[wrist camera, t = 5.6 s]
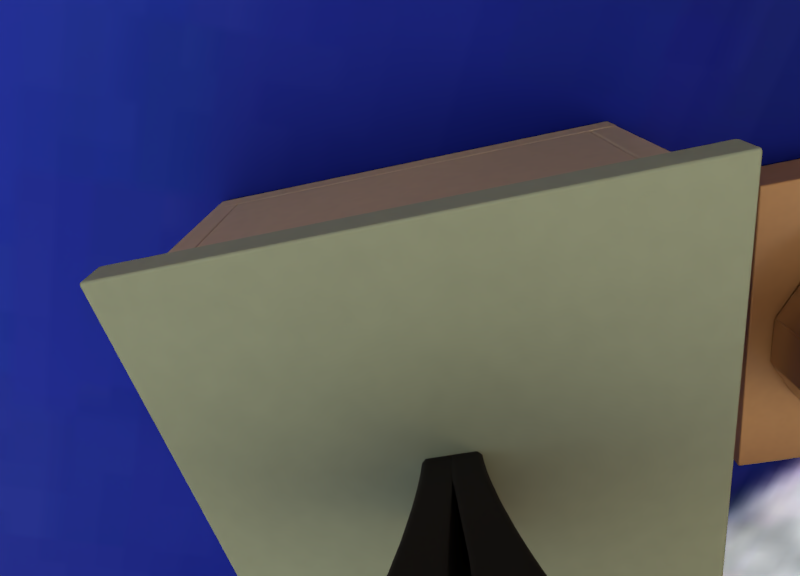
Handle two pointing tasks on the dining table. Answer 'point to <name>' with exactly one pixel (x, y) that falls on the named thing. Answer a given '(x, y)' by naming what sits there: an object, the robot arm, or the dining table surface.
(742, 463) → the control block
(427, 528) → the robot arm
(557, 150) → the wooden box
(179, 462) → the lid
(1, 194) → the dining table surface
